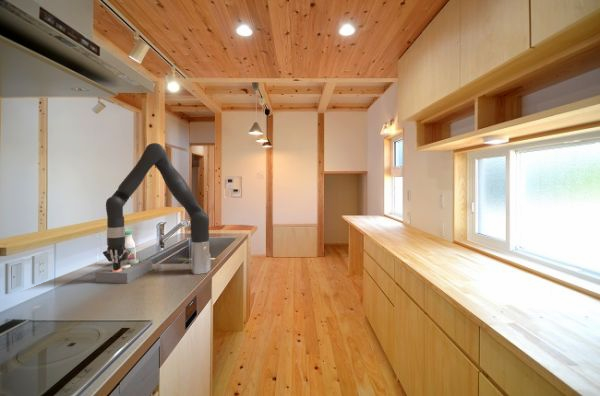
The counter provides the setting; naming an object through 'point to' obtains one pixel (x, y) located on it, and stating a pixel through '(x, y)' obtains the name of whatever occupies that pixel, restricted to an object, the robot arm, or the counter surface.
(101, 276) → the button console
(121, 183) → the robot arm
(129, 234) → the milk bottle
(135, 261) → the sage button
